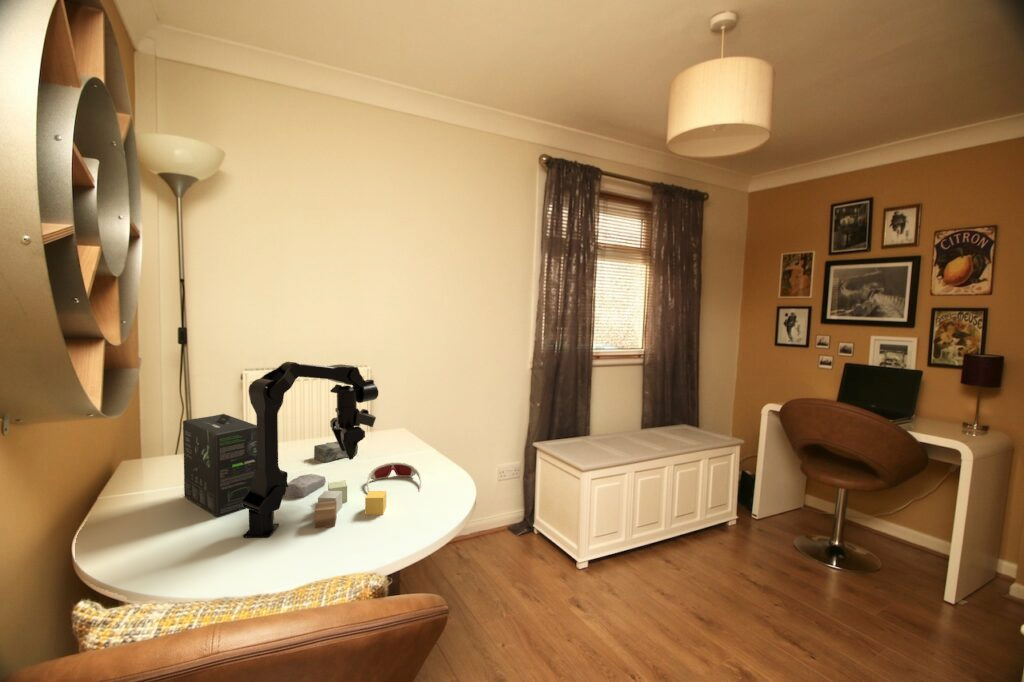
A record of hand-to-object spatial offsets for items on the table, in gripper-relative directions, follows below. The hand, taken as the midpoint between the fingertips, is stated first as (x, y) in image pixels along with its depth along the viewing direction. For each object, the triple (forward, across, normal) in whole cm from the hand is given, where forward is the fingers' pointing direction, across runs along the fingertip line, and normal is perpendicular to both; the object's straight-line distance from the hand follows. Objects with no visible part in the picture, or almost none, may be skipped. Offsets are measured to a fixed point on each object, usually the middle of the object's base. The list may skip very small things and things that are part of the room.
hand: (347, 455), depth 140 cm
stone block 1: (+14, +12, +11) cm, 21 cm away
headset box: (+13, +15, +33) cm, 39 cm away
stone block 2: (+14, +40, -6) cm, 43 cm away
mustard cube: (+13, -15, -4) cm, 20 cm away
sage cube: (+13, -2, +3) cm, 14 cm away
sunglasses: (+14, +2, -15) cm, 21 cm away
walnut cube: (+13, -15, +9) cm, 22 cm away
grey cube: (+13, -8, +7) cm, 17 cm away
